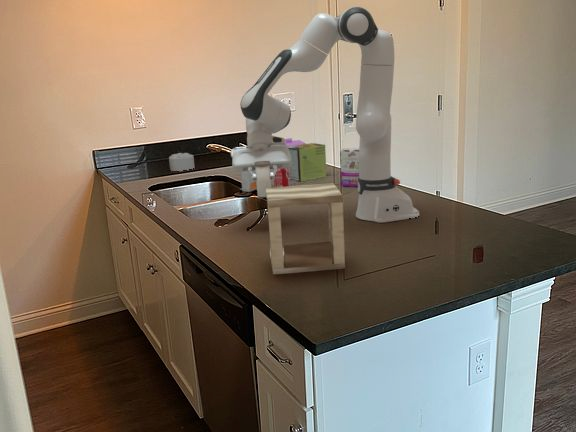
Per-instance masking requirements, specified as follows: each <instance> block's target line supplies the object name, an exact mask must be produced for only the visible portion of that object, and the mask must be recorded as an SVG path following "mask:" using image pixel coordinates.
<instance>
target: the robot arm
mask: <svg viewBox="0 0 576 432" xmlns="http://www.w3.org/2000/svg"><path fill="white" fill-rule="evenodd" d="M338 41H344V42H347V43H351V44H357V45H358V47H359V48H360V51H361V60H360V73H359V74H360V77H359V92H358V99H357V107H356V118H355V129H356V132H357V134H358V136H359V148H358V149H359V178H358V187H357V192H358V203H357V209H356V212H355V217H356V218H357V219H359V220H364V221H369V222H375V223H388V222H389V223H390V222H394V221H402V220H409V218H411V219H415V217H417V218H419V217H420V211H419V210H418V209H417V208H416V207H414V206H413V201H412V199H411V196H410V195H408V194H407V193H406V192H404V191H403V190H402V189H400V188H399V187H397V186H399V185H400V184H401V181H400V180H399V179H398V178H396V177H393V176H392V175H391V173H392V171H391V153H392V152H391V150H392V146H391V145H392V115H391V104H392V95H393V87H394V86H393V85H394V72H395V71H394V69H395V45H394V44H395V42H394V38H393V35H392V34H391V33H390V32H388V31H387V30H384V29H379V28H378V26H377V25H376V23H375V20H374V18H373V16H372V14H371V13H370V12H369V11H368V10H367V9H365V8H364V7H360V6H355V7H354V6H353V7H349V8H347V9H346V10H345V11H343V12H342V13H341V14H339V15H337V16H332V15H331V14H329V13H326V12H325V13H324V12H321V13H317V14H316V15H315V16H313V18H312V19H311V20H310V21H309V23H308V24H307V25H306V27H305V28H304V29H303V31H302V33H301V35H300V36H299V38H298V39H297V40H296V42H295V43H294V44H293V45H292V46H291V47H290V48H287V49H283V50H282V51H280V52H279V53H278V54H277V56H276V57H274V59H273V60H272V61H271V62H270V63H269V65H268V66H267V68H266V69H265V71H264V72H263V73H262V75H260V77H259V78H258V79H257V81H256V82H255V83H254V84H253V85H252V87H250V88H249V89H248V90H247V91H246V92H245V93H244V95H243V96H242V97H241V100H240V109H241V110H240V111H241V113H242V115H243V117H244V118H245V129H246V133H247V134H246V135H247V137H246V142H247V145H246V146H236V147H233V148H232V149H231V150H230V157H231V158H232V161H231V163H232V170H233V171H234V172H235V173H239V172H240V173H241V172H243V171H248V173H249V175H250V176H251V177H252V181H255V180H256V174H253V172H252V171H255V170H256V169H255V164H254V163H255V162H257V161H270V170H272V172H271V171H270V178H271V180H274V179H275V174H276V172H277V169H281V168H290V167H291V165H292V160H291V155H290V151H289V148H288V147H287V146H286V142H285V140H286V138H284V137H279V136H276V135H273V134H276V133H278V132H280V131H282V130H283V129H285V128H286V127H287V126H289V124H290V123H291V122H290V121H291V117H292V111H291V108H290V106H289V105H288V104H286V103H285V102H283V101H281V100H279V99H278V98H277V99H276V98H275V97H273V96H271V95H269V93H270V91H271V90H272V88H273V87H274V86H275V85H276V84H277V82H278V81H279V80H280V79H281V78H282V77H283V76H284V75H286V74H287V73H291V72H292V73H293V72H300V73H310V72H314V71H317V70H318V69H319V68H320V67H321V66H322V65H323V64H324V63H325V61H326V60H327V59H326V58H327V57H328V55H329V54H330V52H331V50H332V49H333V47H334V45H335V44H336V43H338ZM418 216H419V217H418Z"/></svg>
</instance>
